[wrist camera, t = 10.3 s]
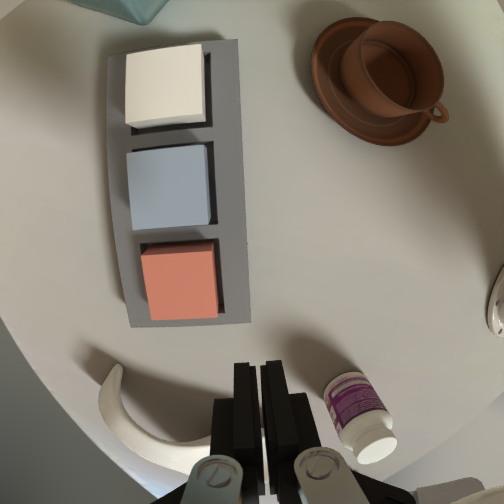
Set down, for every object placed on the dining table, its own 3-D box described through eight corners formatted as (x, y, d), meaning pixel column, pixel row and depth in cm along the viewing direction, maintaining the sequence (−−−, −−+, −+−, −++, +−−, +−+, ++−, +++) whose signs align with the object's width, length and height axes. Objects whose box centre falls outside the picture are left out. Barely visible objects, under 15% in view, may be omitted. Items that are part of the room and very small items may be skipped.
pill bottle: (312, 392, 30) (338, 459, 20) (352, 361, 29) (390, 424, 20) (338, 412, 31) (365, 474, 22) (375, 385, 30) (411, 442, 21)
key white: (204, 59, 19) (200, 43, 16) (205, 121, 20) (202, 113, 17) (138, 67, 19) (126, 54, 16) (138, 128, 20) (125, 123, 17)
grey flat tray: (236, 50, 21) (237, 39, 18) (249, 309, 26) (251, 322, 24) (117, 65, 20) (108, 56, 18) (138, 314, 26) (130, 327, 23)
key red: (213, 241, 24) (211, 251, 21) (218, 300, 25) (217, 317, 22) (150, 245, 23) (140, 255, 20) (159, 303, 25) (151, 320, 22)
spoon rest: (314, 429, 32) (328, 473, 25) (255, 474, 34) (260, 515, 27) (129, 337, 27) (106, 383, 20) (91, 402, 29) (72, 445, 22)
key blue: (206, 148, 21) (203, 144, 18) (210, 217, 22) (208, 224, 19) (139, 155, 20) (126, 153, 17) (144, 222, 22) (132, 230, 19)
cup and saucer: (428, 56, 22) (465, 40, 16) (414, 164, 24) (456, 166, 18) (317, 8, 20) (338, -26, 14) (292, 123, 23) (313, 108, 17)
